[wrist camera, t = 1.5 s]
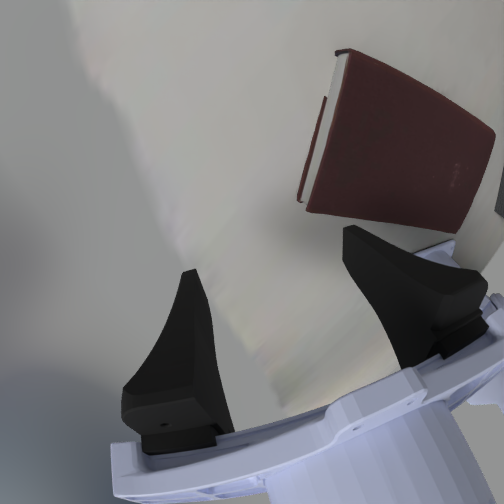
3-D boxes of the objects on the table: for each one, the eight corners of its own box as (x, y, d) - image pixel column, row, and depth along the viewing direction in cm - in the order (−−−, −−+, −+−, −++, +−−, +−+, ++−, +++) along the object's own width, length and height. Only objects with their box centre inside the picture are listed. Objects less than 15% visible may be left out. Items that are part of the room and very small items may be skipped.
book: (332, 46, 17) (354, 46, 15) (479, 124, 23) (501, 134, 20) (290, 196, 24) (305, 216, 21) (440, 222, 30) (458, 238, 27)
